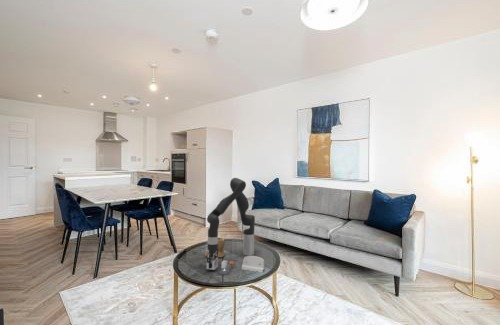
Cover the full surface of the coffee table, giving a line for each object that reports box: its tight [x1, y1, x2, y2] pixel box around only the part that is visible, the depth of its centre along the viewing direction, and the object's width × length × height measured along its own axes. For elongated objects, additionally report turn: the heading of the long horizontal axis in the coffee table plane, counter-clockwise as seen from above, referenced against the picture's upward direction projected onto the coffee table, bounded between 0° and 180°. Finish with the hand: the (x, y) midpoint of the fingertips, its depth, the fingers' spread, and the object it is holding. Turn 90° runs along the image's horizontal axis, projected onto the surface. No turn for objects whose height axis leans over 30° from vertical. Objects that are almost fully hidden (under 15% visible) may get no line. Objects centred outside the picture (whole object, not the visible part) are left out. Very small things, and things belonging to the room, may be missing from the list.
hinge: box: [240, 255, 266, 273], centre depth 174 cm, size 17×5×10 cm, turn 71°
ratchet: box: [218, 259, 236, 276], centre depth 172 cm, size 19×7×8 cm, turn 162°
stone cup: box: [204, 237, 226, 258], centre depth 200 cm, size 15×12×15 cm
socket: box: [206, 257, 219, 271], centre depth 171 cm, size 6×6×7 cm
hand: (212, 266), depth 171 cm, fingers closed on socket, 6 cm apart
